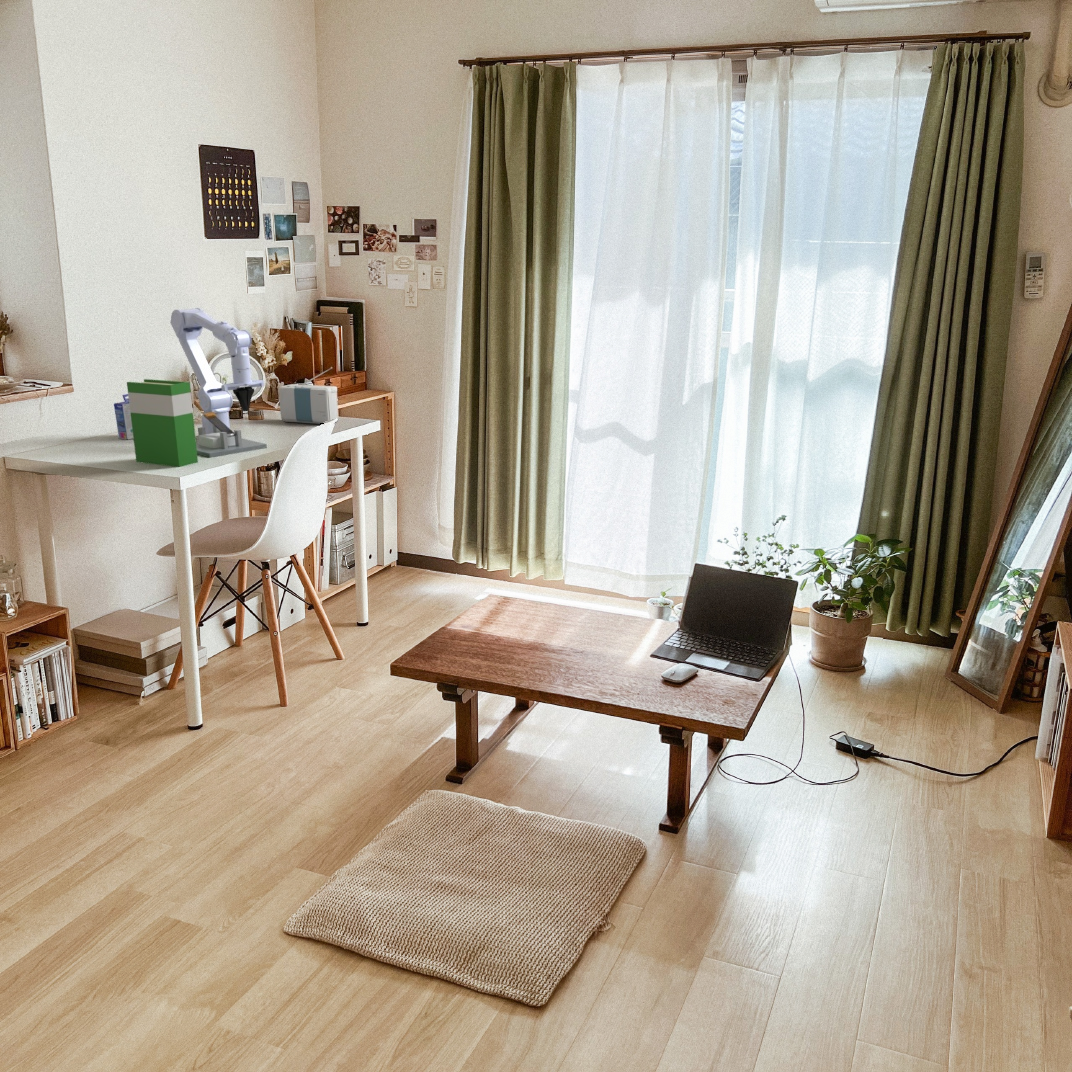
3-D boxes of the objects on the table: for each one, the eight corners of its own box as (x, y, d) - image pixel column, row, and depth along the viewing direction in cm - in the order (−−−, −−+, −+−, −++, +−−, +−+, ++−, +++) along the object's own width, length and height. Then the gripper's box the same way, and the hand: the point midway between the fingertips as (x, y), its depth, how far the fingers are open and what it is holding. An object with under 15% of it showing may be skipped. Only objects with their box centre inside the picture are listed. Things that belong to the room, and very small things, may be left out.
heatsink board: (174, 448, 331) (172, 429, 329) (230, 439, 345) (228, 420, 343) (210, 457, 316) (208, 437, 315) (266, 447, 330) (265, 428, 328)
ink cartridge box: (142, 434, 356) (137, 392, 352) (152, 435, 353) (147, 393, 349) (117, 438, 348) (111, 395, 344) (127, 440, 345) (122, 397, 341)
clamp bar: (203, 416, 331) (203, 412, 330) (211, 415, 333) (212, 411, 332) (227, 438, 323) (227, 434, 323) (235, 436, 326) (236, 432, 325)
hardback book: (136, 461, 311) (126, 382, 305) (155, 457, 318) (146, 379, 311) (179, 467, 304) (170, 385, 297) (197, 462, 310) (189, 382, 303)
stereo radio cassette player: (280, 422, 375) (275, 367, 370) (293, 419, 383) (289, 364, 377) (328, 426, 368) (325, 369, 362) (341, 422, 375) (338, 367, 369)
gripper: (227, 371, 325) (232, 414, 329) (267, 367, 335) (271, 409, 339) (216, 370, 330) (220, 412, 333) (255, 366, 340) (260, 407, 343)
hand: (245, 410), depth 336 cm, fingers closed
